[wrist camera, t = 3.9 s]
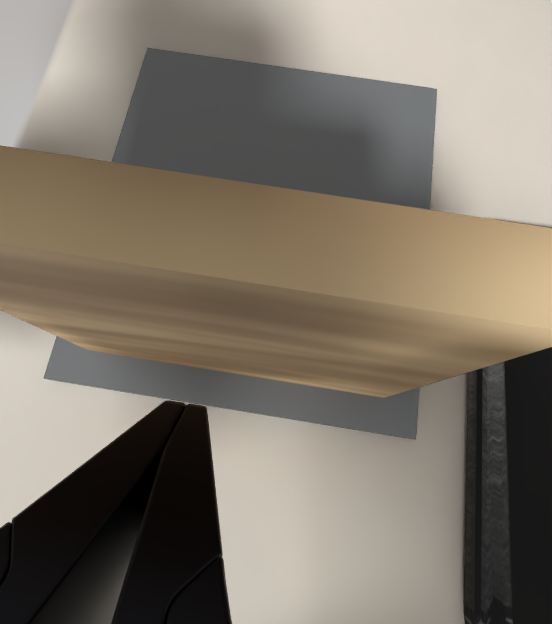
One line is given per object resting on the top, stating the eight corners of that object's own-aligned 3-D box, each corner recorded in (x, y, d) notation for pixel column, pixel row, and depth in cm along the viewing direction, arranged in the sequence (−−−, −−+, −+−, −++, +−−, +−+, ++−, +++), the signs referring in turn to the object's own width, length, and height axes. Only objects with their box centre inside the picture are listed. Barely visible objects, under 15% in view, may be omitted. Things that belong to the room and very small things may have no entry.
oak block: (384, 397, 15) (589, 335, 5) (87, 349, 15) (-216, 209, 6) (387, 357, 15) (583, 232, 6) (98, 311, 16) (-166, 121, 6)
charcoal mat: (413, 439, 15) (416, 439, 15) (47, 379, 15) (43, 378, 15) (434, 94, 19) (436, 89, 19) (149, 53, 20) (147, 47, 19)
